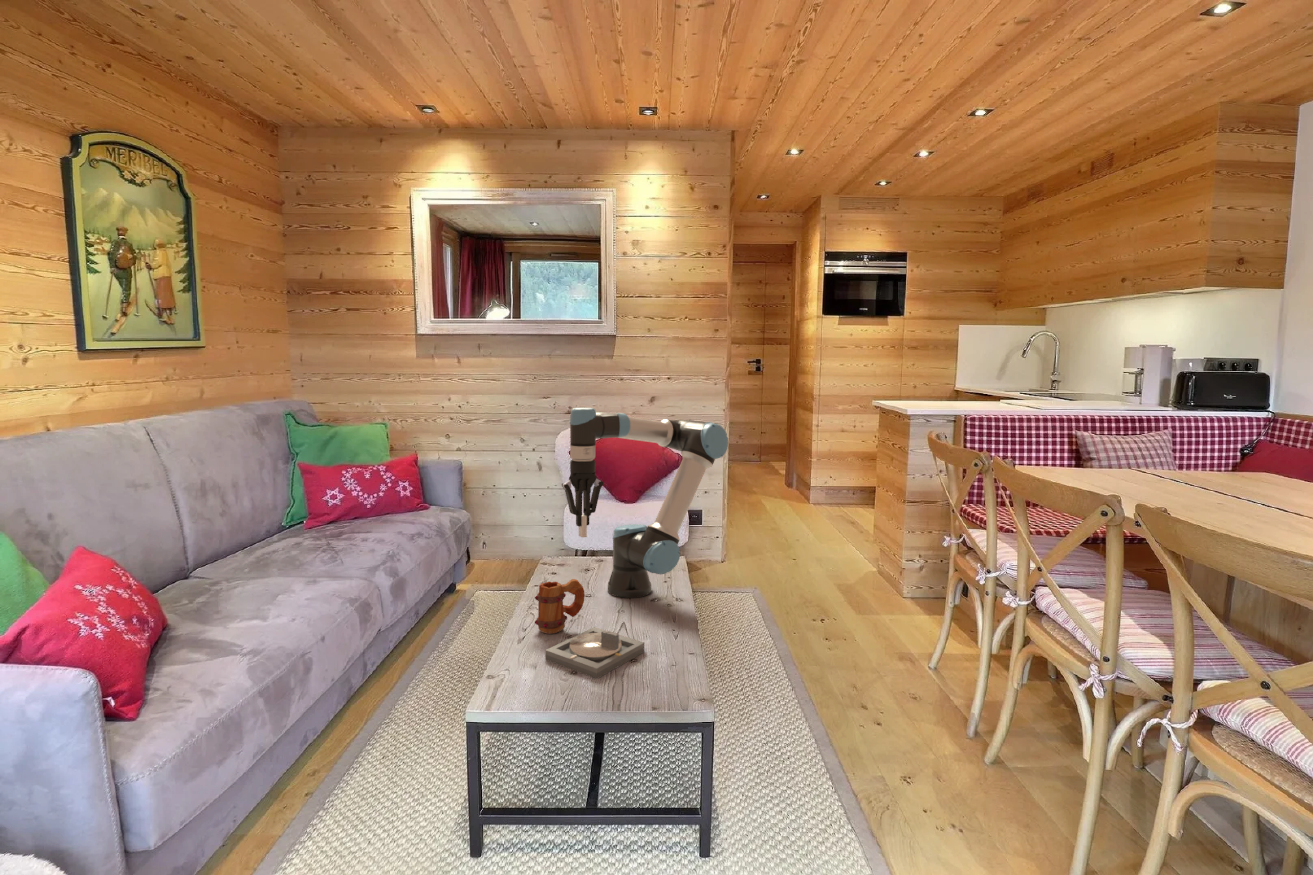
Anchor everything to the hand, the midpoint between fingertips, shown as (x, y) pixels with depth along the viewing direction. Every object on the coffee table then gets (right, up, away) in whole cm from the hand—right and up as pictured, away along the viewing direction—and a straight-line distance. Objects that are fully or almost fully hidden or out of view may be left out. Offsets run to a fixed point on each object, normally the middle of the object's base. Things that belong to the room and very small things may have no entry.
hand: (582, 536), depth 208 cm
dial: (+6, -28, -23) cm, 36 cm away
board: (+6, -29, -22) cm, 37 cm away
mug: (-6, -27, -5) cm, 28 cm away
